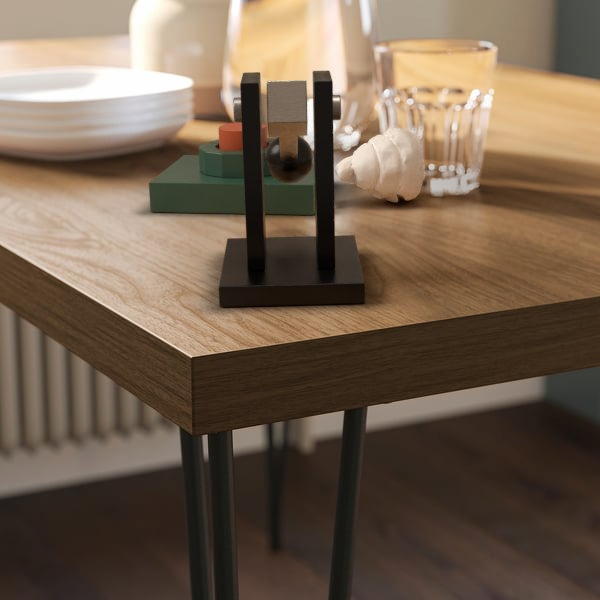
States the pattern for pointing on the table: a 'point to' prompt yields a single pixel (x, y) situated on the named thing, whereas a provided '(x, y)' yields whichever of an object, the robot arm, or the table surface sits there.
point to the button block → (224, 186)
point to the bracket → (290, 250)
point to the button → (235, 137)
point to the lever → (288, 131)
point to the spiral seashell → (386, 165)
